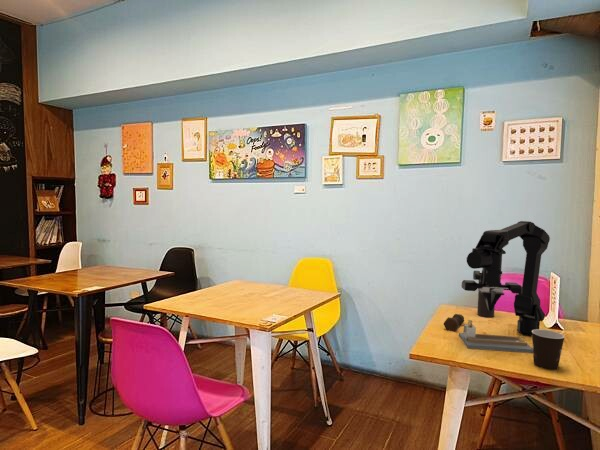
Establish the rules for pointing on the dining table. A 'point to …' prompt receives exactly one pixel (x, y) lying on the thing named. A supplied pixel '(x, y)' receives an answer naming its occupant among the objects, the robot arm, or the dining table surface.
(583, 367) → the dining table surface
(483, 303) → the bottle
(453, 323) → the bolt
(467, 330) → the sliding pin block
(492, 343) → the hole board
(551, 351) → the coffee mug
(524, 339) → the fixed brass pin
